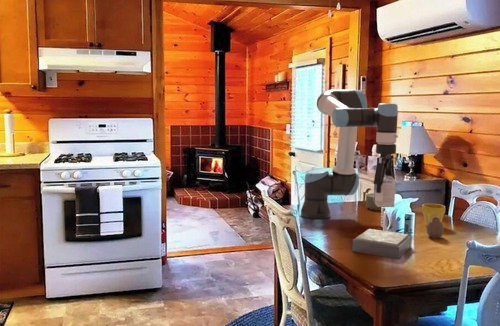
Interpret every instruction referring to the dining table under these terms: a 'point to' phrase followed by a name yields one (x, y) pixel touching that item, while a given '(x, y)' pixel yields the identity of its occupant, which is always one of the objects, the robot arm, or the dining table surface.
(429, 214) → the plant pot
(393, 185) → the light bulb box
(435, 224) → the gray brown egg
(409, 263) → the dining table surface
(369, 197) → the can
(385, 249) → the stand
